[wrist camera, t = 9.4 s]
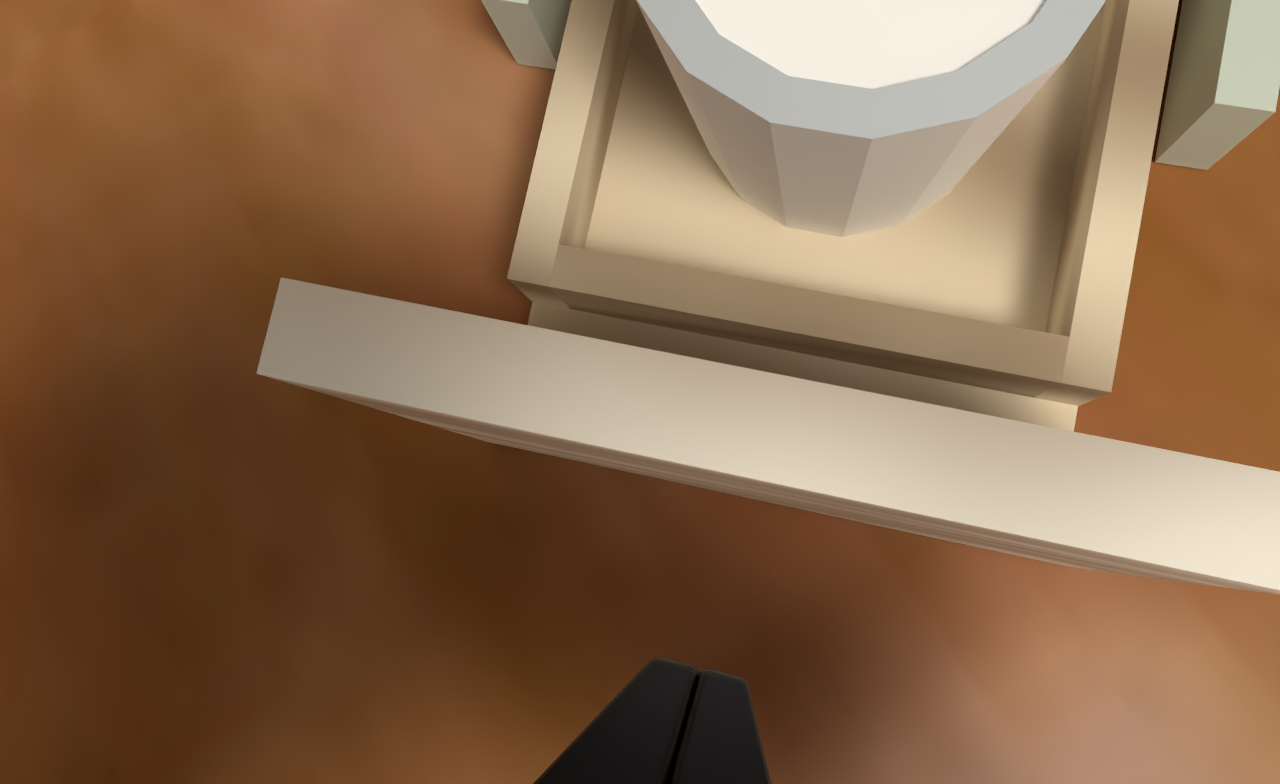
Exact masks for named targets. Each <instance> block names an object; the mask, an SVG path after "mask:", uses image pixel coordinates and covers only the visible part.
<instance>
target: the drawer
mask: <svg viewBox="0 0 1280 784" xmlns="http://www.w3.org/2000/svg"><path fill="white" fill-rule="evenodd" d="M1178 3H1179V0H1106V1H1105V3H1104V4H1103V6H1102V7H1101V9H1100V10H1099V12H1098V13H1097V14H1096V16H1095V17H1094V19H1093V20H1092V22H1091V23H1090V25H1089V26H1088V28H1087V29H1086V30H1085V32H1084V33H1083V35H1082V36H1081V38H1080V39H1079V41H1078V42H1077V44H1076V45H1075V46H1074V48H1073V49H1072V51H1071V52H1070V54H1069V55H1068V57H1067V58H1066V59H1065V60H1064V62H1063V63H1062V64H1061V65H1060V66H1059V67H1058V68H1057V70H1056V71H1055V72H1054V73H1053V74H1052V75H1051V76H1050V78H1049V79H1048V80H1047V81H1046V82H1045V83H1044V84H1043V86H1042V87H1041V88H1040V89H1039V90H1038V91H1037V93H1036V94H1035V95H1034V96H1033V97H1032V98H1031V99H1030V101H1029V102H1028V103H1027V104H1026V105H1025V106H1024V107H1023V109H1022V110H1021V111H1020V112H1019V113H1018V114H1017V115H1016V117H1015V118H1014V119H1013V120H1012V121H1011V122H1010V124H1009V125H1008V126H1007V127H1006V128H1005V129H1004V130H1003V132H1002V133H1001V134H1000V135H999V136H998V137H997V138H996V140H995V141H994V142H993V143H992V144H991V145H990V146H989V148H988V149H987V150H986V151H985V152H984V153H983V155H982V156H981V157H980V158H979V159H978V160H977V161H976V163H975V164H974V165H973V166H972V167H971V168H970V169H969V171H968V172H967V173H966V174H965V175H964V176H963V177H962V179H961V180H960V181H959V182H958V183H957V184H956V186H955V187H954V188H953V189H952V190H951V191H950V192H949V194H948V195H946V196H945V197H943V198H942V199H940V200H938V201H937V202H935V203H934V204H932V205H931V206H929V207H928V208H926V209H925V210H923V211H922V212H920V213H918V214H917V215H915V216H914V217H912V218H911V219H909V220H908V221H906V222H905V223H903V224H902V225H900V226H897V227H892V228H887V229H882V230H877V231H872V232H867V233H862V234H857V235H852V236H847V237H837V236H832V235H826V234H820V233H815V232H809V231H804V230H798V229H792V228H787V227H785V226H784V225H782V224H780V223H779V222H777V221H776V220H774V219H773V218H771V217H769V216H768V215H766V214H765V213H763V212H761V211H760V210H758V209H757V208H755V207H754V206H752V205H750V204H749V203H747V202H746V201H744V200H742V199H741V198H740V197H739V195H738V194H737V192H736V191H735V190H734V188H733V187H732V185H731V184H730V182H729V181H728V179H727V178H726V176H725V175H724V174H723V172H722V171H721V169H720V168H719V166H718V165H717V163H716V162H715V160H714V159H713V158H712V156H711V155H710V153H709V151H708V149H707V146H706V144H705V142H704V140H703V138H702V136H701V134H700V132H699V130H698V128H697V126H696V124H695V122H694V119H693V117H692V115H691V113H690V111H689V109H688V107H687V105H686V103H685V101H684V99H683V97H682V95H681V92H680V90H679V88H678V86H677V84H676V82H675V80H674V78H673V76H672V74H671V72H670V70H669V68H668V65H667V63H666V61H665V59H664V57H663V55H662V53H661V51H660V49H659V47H658V45H657V43H656V41H655V39H654V36H653V34H652V32H651V30H650V28H649V26H648V24H647V22H646V20H645V18H644V16H643V14H642V12H641V9H640V7H639V5H638V3H637V1H636V0H572V2H571V6H570V10H569V15H568V19H567V23H566V27H565V32H564V36H563V40H562V45H561V49H560V53H559V57H558V62H557V66H556V70H555V74H554V79H553V83H552V87H551V92H550V96H549V100H548V104H547V109H546V113H545V117H544V122H543V126H542V130H541V134H540V139H539V143H538V147H537V151H536V156H535V160H534V164H533V169H532V173H531V177H530V181H529V186H528V190H527V194H526V199H525V203H524V207H523V211H522V216H521V220H520V224H519V228H518V233H517V237H516V241H515V246H514V250H513V254H512V258H511V263H510V267H509V271H508V276H507V279H508V280H509V281H510V282H511V283H512V284H513V285H514V286H516V287H517V288H518V289H519V290H520V291H521V292H522V293H523V294H524V295H525V296H527V297H528V298H529V299H530V300H531V301H532V307H531V311H530V315H529V320H528V324H527V325H523V324H518V323H513V322H508V321H503V320H498V319H493V318H488V317H482V316H477V315H472V314H467V313H462V312H457V311H452V310H446V309H441V308H436V307H431V306H426V305H421V304H416V303H411V302H405V301H400V300H395V299H390V298H385V297H380V296H375V295H370V294H364V293H359V292H354V291H349V290H344V289H339V288H334V287H328V286H323V285H318V284H313V283H308V282H303V281H298V280H293V279H287V278H282V277H281V279H280V283H279V287H278V291H277V295H276V298H275V302H274V306H273V310H272V314H271V318H270V322H269V326H268V330H267V334H266V338H265V341H264V345H263V349H262V353H261V357H260V361H259V365H258V369H257V373H256V374H259V375H263V376H266V377H269V378H273V379H276V380H279V381H283V382H286V383H290V384H293V385H296V386H300V387H303V388H307V389H310V390H313V391H317V392H320V393H323V394H327V395H330V396H334V397H337V398H340V399H344V400H347V401H351V402H354V403H357V404H361V405H364V406H367V407H371V408H374V409H378V410H381V411H384V412H388V413H391V414H395V415H398V416H401V417H405V418H408V419H411V420H415V421H418V422H422V423H425V424H428V425H432V426H435V427H439V428H442V429H445V430H449V431H452V432H455V433H459V434H462V435H466V436H469V437H472V438H476V439H479V440H482V441H486V442H490V443H495V444H499V445H504V446H509V447H513V448H518V449H522V450H527V451H532V452H536V453H541V454H546V455H550V456H555V457H560V458H564V459H569V460H574V461H578V462H583V463H588V464H592V465H597V466H602V467H606V468H611V469H616V470H620V471H625V472H630V473H634V474H639V475H644V476H648V477H653V478H658V479H662V480H667V481H672V482H676V483H681V484H685V485H690V486H695V487H699V488H704V489H709V490H713V491H718V492H723V493H727V494H732V495H737V496H741V497H746V498H751V499H755V500H760V501H765V502H769V503H774V504H779V505H783V506H788V507H793V508H797V509H802V510H807V511H811V512H816V513H821V514H825V515H830V516H835V517H839V518H844V519H848V520H853V521H858V522H862V523H867V524H872V525H876V526H881V527H886V528H890V529H895V530H900V531H904V532H909V533H914V534H918V535H923V536H928V537H932V538H937V539H942V540H946V541H951V542H956V543H960V544H965V545H970V546H974V547H979V548H984V549H988V550H993V551H998V552H1002V553H1007V554H1011V555H1016V556H1021V557H1025V558H1030V559H1035V560H1039V561H1044V562H1049V563H1053V564H1058V565H1063V566H1067V567H1074V568H1082V569H1090V570H1097V571H1105V572H1113V573H1120V574H1128V575H1135V576H1143V577H1151V578H1158V579H1166V580H1174V581H1181V582H1189V583H1197V584H1204V585H1212V586H1219V587H1227V588H1235V589H1242V590H1250V591H1258V592H1265V593H1273V594H1280V472H1278V471H1272V470H1267V469H1262V468H1257V467H1252V466H1247V465H1242V464H1237V463H1231V462H1226V461H1221V460H1216V459H1211V458H1206V457H1201V456H1195V455H1190V454H1185V453H1180V452H1175V451H1170V450H1165V449H1160V448H1154V447H1149V446H1144V445H1139V444H1134V443H1129V442H1124V441H1119V440H1113V439H1108V438H1103V437H1098V436H1093V435H1088V434H1083V433H1077V432H1074V426H1075V420H1076V414H1077V409H1078V406H1080V405H1082V404H1084V403H1087V402H1089V401H1092V400H1094V399H1096V398H1099V397H1101V396H1104V395H1106V394H1108V393H1111V390H1112V384H1113V379H1114V373H1115V367H1116V361H1117V356H1118V350H1119V344H1120V338H1121V332H1122V327H1123V321H1124V315H1125V309H1126V304H1127V298H1128V292H1129V286H1130V280H1131V275H1132V269H1133V263H1134V257H1135V252H1136V246H1137V240H1138V234H1139V228H1140V223H1141V217H1142V211H1143V205H1144V199H1145V194H1146V188H1147V182H1148V176H1149V171H1150V165H1151V159H1152V153H1153V147H1154V142H1155V136H1156V130H1157V124H1158V119H1159V113H1160V107H1161V101H1162V95H1163V90H1164V84H1165V78H1166V72H1167V67H1168V61H1169V55H1170V49H1171V43H1172V38H1173V32H1174V26H1175V20H1176V14H1177V9H1178Z"/></svg>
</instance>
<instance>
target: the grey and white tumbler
mask: <svg viewBox="0 0 1280 784" xmlns="http://www.w3.org/2000/svg"><path fill="white" fill-rule="evenodd" d="M636 1H637V3H638V5H639V7H640V9H641V12H642V14H643V16H644V18H645V20H646V22H647V24H648V26H649V28H650V30H651V32H652V34H653V36H654V39H655V41H656V43H657V45H658V47H659V49H660V51H661V53H662V55H663V57H664V59H665V61H666V63H667V65H668V68H669V70H670V72H671V74H672V76H673V78H674V80H675V82H676V84H677V86H678V88H679V90H680V92H681V95H682V97H683V99H684V101H685V103H686V105H687V107H688V109H689V111H690V113H691V115H692V117H693V119H694V122H695V124H696V126H697V128H698V130H699V132H700V134H701V136H702V138H703V140H704V142H705V144H706V146H707V149H708V151H709V153H710V155H711V156H712V158H713V159H714V160H715V162H716V163H717V165H718V166H719V168H720V169H721V171H722V172H723V174H724V175H725V176H726V178H727V179H728V181H729V182H730V184H731V185H732V187H733V188H734V190H735V191H736V192H737V194H738V195H739V197H740V198H741V199H742V200H744V201H746V202H747V203H749V204H750V205H752V206H754V207H755V208H757V209H758V210H760V211H761V212H763V213H765V214H766V215H768V216H769V217H771V218H773V219H774V220H776V221H777V222H779V223H780V224H782V225H784V226H785V227H787V228H792V229H798V230H804V231H809V232H815V233H820V234H826V235H832V236H837V237H847V236H852V235H857V234H862V233H867V232H872V231H877V230H882V229H887V228H892V227H897V226H900V225H902V224H903V223H905V222H906V221H908V220H909V219H911V218H912V217H914V216H915V215H917V214H918V213H920V212H922V211H923V210H925V209H926V208H928V207H929V206H931V205H932V204H934V203H935V202H937V201H938V200H940V199H942V198H943V197H945V196H946V195H948V194H949V192H950V191H951V190H952V189H953V188H954V187H955V186H956V184H957V183H958V182H959V181H960V180H961V179H962V177H963V176H964V175H965V174H966V173H967V172H968V171H969V169H970V168H971V167H972V166H973V165H974V164H975V163H976V161H977V160H978V159H979V158H980V157H981V156H982V155H983V153H984V152H985V151H986V150H987V149H988V148H989V146H990V145H991V144H992V143H993V142H994V141H995V140H996V138H997V137H998V136H999V135H1000V134H1001V133H1002V132H1003V130H1004V129H1005V128H1006V127H1007V126H1008V125H1009V124H1010V122H1011V121H1012V120H1013V119H1014V118H1015V117H1016V115H1017V114H1018V113H1019V112H1020V111H1021V110H1022V109H1023V107H1024V106H1025V105H1026V104H1027V103H1028V102H1029V101H1030V99H1031V98H1032V97H1033V96H1034V95H1035V94H1036V93H1037V91H1038V90H1039V89H1040V88H1041V87H1042V86H1043V84H1044V83H1045V82H1046V81H1047V80H1048V79H1049V78H1050V76H1051V75H1052V74H1053V73H1054V72H1055V71H1056V70H1057V68H1058V67H1059V66H1060V65H1061V64H1062V63H1063V62H1064V60H1065V59H1066V58H1067V57H1068V55H1069V54H1070V52H1071V51H1072V49H1073V48H1074V46H1075V45H1076V44H1077V42H1078V41H1079V39H1080V38H1081V36H1082V35H1083V33H1084V32H1085V30H1086V29H1087V28H1088V26H1089V25H1090V23H1091V22H1092V20H1093V19H1094V17H1095V16H1096V14H1097V13H1098V12H1099V10H1100V9H1101V7H1102V6H1103V4H1104V3H1105V1H1106V0H636Z"/></svg>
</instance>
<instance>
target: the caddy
mask: <svg viewBox="0 0 1280 784" xmlns="http://www.w3.org/2000/svg"><path fill="white" fill-rule="evenodd" d="M481 1H482V3H483V5H484V6H485V8H486V10H487V12H488V13H489V15H490V17H491V19H492V20H493V22H494V24H495V26H496V27H497V29H498V31H499V33H500V34H501V36H502V38H503V40H504V41H505V43H506V45H507V47H508V48H509V50H510V52H511V54H512V55H513V57H514V59H515V61H516V62H517V64H520V65H527V66H533V67H540V68H546V69H553V70H556V66H557V62H558V57H559V53H560V49H561V45H562V40H563V36H564V32H565V27H566V23H567V19H568V15H569V10H570V6H571V2H572V0H481ZM1279 86H1280V0H1183V1H1182V7H1181V13H1180V18H1179V24H1178V30H1177V36H1176V42H1175V47H1174V53H1173V59H1172V65H1171V71H1170V76H1169V82H1168V88H1167V94H1166V100H1165V105H1164V111H1163V117H1162V123H1161V129H1160V134H1159V140H1158V146H1157V152H1156V158H1155V162H1157V163H1163V164H1170V165H1176V166H1183V167H1189V168H1196V169H1202V170H1207V169H1209V168H1210V167H1211V166H1212V165H1213V164H1215V163H1216V162H1217V161H1218V160H1219V159H1220V158H1222V157H1223V156H1224V155H1225V154H1226V153H1227V152H1229V151H1230V150H1231V149H1232V148H1233V147H1235V146H1236V145H1237V144H1238V143H1239V142H1240V141H1242V140H1243V139H1244V138H1245V137H1246V136H1248V135H1249V134H1250V133H1251V132H1252V131H1253V130H1255V129H1256V128H1257V127H1258V126H1259V125H1260V124H1262V123H1263V122H1264V121H1265V120H1266V119H1268V118H1269V117H1270V116H1271V115H1272V114H1273V113H1275V111H1276V105H1277V99H1278V93H1279Z"/></svg>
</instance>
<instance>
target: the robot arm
mask: <svg viewBox="0 0 1280 784" xmlns="http://www.w3.org/2000/svg"><path fill="white" fill-rule="evenodd" d="M533 784H772V781H771V777H770V773H769V768H768V764H767V760H766V756H765V751H764V747H763V743H762V739H761V735H760V730H759V726H758V722H757V718H756V713H755V709H754V705H753V701H752V696H751V692H750V688H749V685H748V683H747V681H746V680H745V679H744V678H743V677H741V676H738V675H734V674H730V673H726V672H721V671H717V670H713V669H704V670H702V671H701V672H700V674H699V671H698V669H697V668H696V667H695V666H694V665H692V664H689V663H684V662H680V661H676V660H672V659H668V658H664V657H656V658H653V659H652V660H651V661H649V662H648V663H647V664H646V665H645V666H644V667H643V668H642V669H641V671H640V672H639V673H638V674H637V675H636V676H635V677H634V678H633V679H632V680H631V681H630V682H629V683H628V684H627V685H626V686H625V687H624V688H623V689H622V691H621V692H620V693H619V694H618V695H617V696H616V697H615V698H614V699H613V700H612V701H611V702H610V703H609V704H608V705H607V706H606V707H605V708H604V709H603V711H602V712H601V713H600V714H599V715H598V716H597V717H596V718H595V719H594V720H593V721H592V722H591V723H590V724H589V725H588V726H587V727H586V728H585V729H584V731H583V732H582V733H581V734H580V735H579V736H578V737H577V738H576V739H575V740H574V741H573V742H572V743H571V744H570V745H569V746H568V747H567V748H566V749H565V751H564V752H563V753H562V754H561V755H560V756H559V757H558V758H557V759H556V760H555V761H554V762H553V763H552V764H551V765H550V766H549V767H548V768H547V769H546V771H545V772H544V773H543V774H542V775H541V776H540V777H539V778H538V779H537V780H536V781H535V782H534V783H533Z"/></svg>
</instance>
